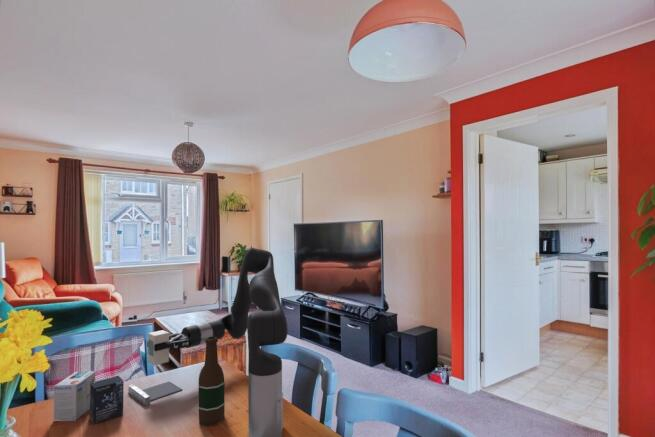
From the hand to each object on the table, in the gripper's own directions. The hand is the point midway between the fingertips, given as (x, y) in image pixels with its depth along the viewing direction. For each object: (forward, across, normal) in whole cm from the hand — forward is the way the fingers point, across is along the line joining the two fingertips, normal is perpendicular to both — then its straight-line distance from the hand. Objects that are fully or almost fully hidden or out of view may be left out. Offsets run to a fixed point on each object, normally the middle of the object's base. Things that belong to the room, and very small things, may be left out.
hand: (151, 346), depth 127 cm
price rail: (+4, 0, +16) cm, 17 cm away
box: (+15, +5, +16) cm, 23 cm away
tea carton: (-3, 0, +6) cm, 7 cm away
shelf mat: (-2, 0, +16) cm, 16 cm away
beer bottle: (-5, +30, +16) cm, 35 cm away
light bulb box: (+21, -5, +16) cm, 27 cm away
